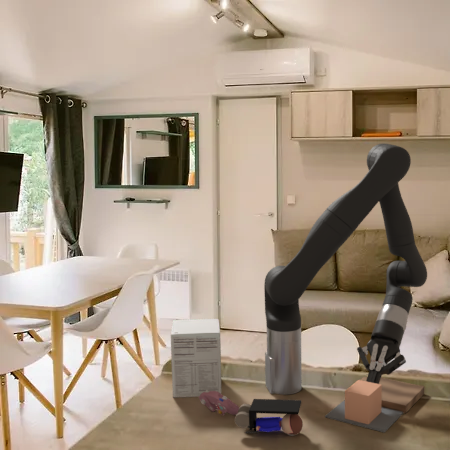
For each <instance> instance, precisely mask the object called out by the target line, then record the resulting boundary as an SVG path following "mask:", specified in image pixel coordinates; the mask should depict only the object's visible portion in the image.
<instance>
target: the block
mask: <svg viewBox="0 0 450 450" xmlns="http://www.w3.org/2000/svg"><path fill="white" fill-rule="evenodd" d="M344 400H345V419H349V420H353V421H357V422H361V423H365V424H370V423H371V422H372V421H373V420H374V419H375V418H376V417H377V416H378V415H379V414H380V413H381V402H382V385H381V384H376V383H371V382H367V381H362V380H360V379H357V380H356V381H355V382H354V383H353V384H351V385H350V386H349V387H347V389H345V390H344Z"/></svg>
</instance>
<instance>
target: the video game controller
mask: <svg viewBox="0 0 450 450" xmlns="http://www.w3.org/2000/svg"><path fill="white" fill-rule="evenodd" d="M198 400H199V401H200V403H201V404H202V405H204V406H205V407H207V408H208V410H210V412H215V411H216V412H217V413H218V414H219V415H221V416H225V414H226V413H227V414H230V415H233V416H236V415H237V414H238V410H239V408H240V406H239V405H238V404H236V403H234V402H233V401H232V400H231V399H230V398H228V397H227V396H225V395H224V394H222V392H221V393H219V392H217V391H208V390H206V391H205V392H203V393H202V394H201V395H200V396H199V397H198Z"/></svg>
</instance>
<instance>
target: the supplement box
mask: <svg viewBox="0 0 450 450" xmlns="http://www.w3.org/2000/svg"><path fill="white" fill-rule="evenodd" d="M170 351H171V352H170V354H171V356H170V357H171V358H170V359H171V360H170V361H171V380H172V385H171V386H172V398H191V397H192V398H193V397H194V398H197V397H198V398H199V396H200V395H201V394H202V393H203V392H205V391H206V390H208V391H217V392H219V393H221V394H222V353H221V351H222V350H221V328H220V320H219V318H201V319H200V318H199V319H175V320H174V319H173V320H172V323H171V332H170Z"/></svg>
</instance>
